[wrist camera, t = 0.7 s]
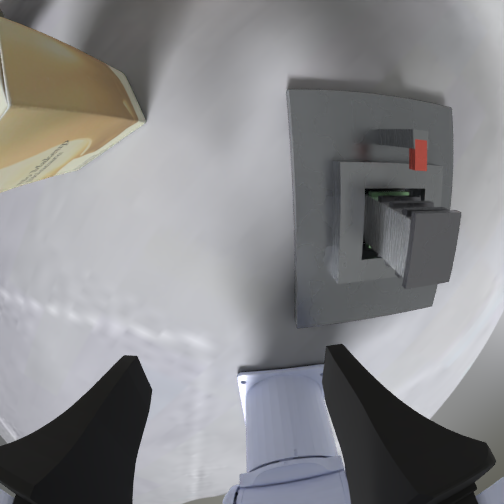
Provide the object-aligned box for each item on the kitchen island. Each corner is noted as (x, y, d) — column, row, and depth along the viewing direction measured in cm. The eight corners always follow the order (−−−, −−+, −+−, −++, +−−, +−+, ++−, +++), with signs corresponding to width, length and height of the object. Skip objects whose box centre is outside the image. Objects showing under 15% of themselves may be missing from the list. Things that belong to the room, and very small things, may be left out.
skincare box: (78, 172, 16) (-64, 229, 5) (56, 122, 15) (-85, 139, 3) (153, 120, 15) (9, 107, 4) (127, 68, 14) (-8, 10, 2)
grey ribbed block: (400, 242, 18) (448, 281, 12) (362, 245, 18) (405, 289, 12) (404, 188, 16) (461, 212, 11) (365, 188, 16) (416, 213, 11)
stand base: (426, 300, 21) (456, 333, 16) (295, 320, 21) (307, 366, 16) (443, 108, 15) (489, 107, 10) (286, 92, 15) (303, 74, 10)
